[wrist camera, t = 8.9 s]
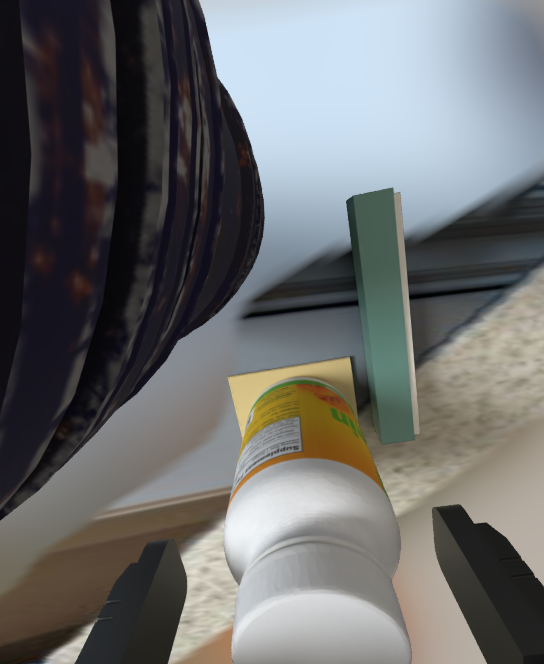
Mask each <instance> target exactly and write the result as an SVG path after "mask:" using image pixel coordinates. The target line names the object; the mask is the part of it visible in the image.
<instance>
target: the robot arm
mask: <svg viewBox="0 0 544 664" xmlns="http://www.w3.org/2000/svg"><path fill="white" fill-rule="evenodd" d="M432 517H433V531H434V543H435V551H436V555H437V559H438V562H439V565H440V567H441V570H442V572H443V574H444V576H445V578H446V581H447V583H448V585H449V587H450V589H451V591H452V593H453V595H454V597H455V599H456V601H457V603H458V605H459V607H460V609H461V611H462V613H463V615H464V617H465V619H466V621H467V623H468V625H469V628H470V629H471V632H472V634H473V636H474V638H475V639H476V642H477V644H478V646H479V648H480V650H481V652H482V654H483V656H484V658H485V660H486V662H487V664H544V586H543V585H542V584H541V582H540V581H539V580H538V578H535V576H534V573H533V572H532V571H531V569H530V568H529V567H528V566H527V564H526V563H525V562H524V561H522V559H521V556H520V555H519V554H518V552H517V551H516V550H515V549H514V547H513V546H512V545H511V543H510V542H509V541H508V539H507V538H506V537H505V536H503V535H502V534H501V533H499V532H498V531H497V530H495V529H494V528H492V526H490V525H489V524H488V523H478V524H474V523H473V521H472V520H471V518H470V517H469V515H468V514H467V513H466V511H465V510H464V508H463V507H462V506H461V505H459V504H457V505H449V506H441V507H433V509H432ZM186 594H187V576H186V572H185V569H184V566H183V563H182V560H181V557H180V554H179V551H178V548H177V544H176V542H175V540H174V539H166V540H158V541H150V542H148V543H147V545H146V546H145V548H144V550H143V552H142V554H141V557H140V559H139V561H138V563H131V564H130V565H129V566H128V568H127V569H126V570H125V571H124V572H123V574H122V575H121V576H120V577H119V578H118V579H117V581H116V582H115V584H114V586H113V588H112V590H111V592H110V594H109V596H108V598H107V600H106V605H104V606H103V608H102V610H101V612H100V614H99V616H98V621H97V622H95V624H94V626H93V628H92V630H91V632H90V634H89V636H88V638H87V640H86V642H85V644H84V646H83V648H82V650H81V652H80V654H79V656H78V658H77V660H76V662H75V664H168V661H169V657H170V653H171V650H172V646H173V643H174V639H175V635H176V632H177V628H178V625H179V621H180V617H181V614H182V610H183V607H184V603H185V599H186Z"/></svg>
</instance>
